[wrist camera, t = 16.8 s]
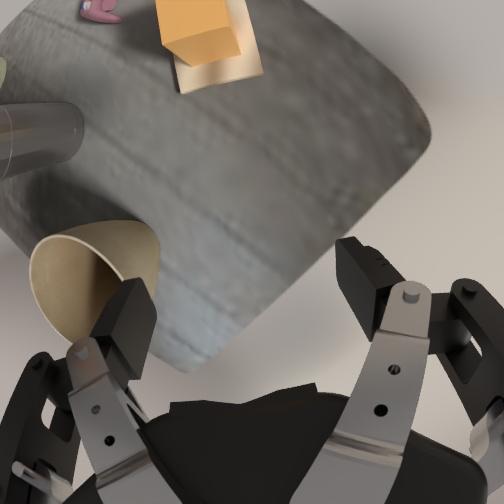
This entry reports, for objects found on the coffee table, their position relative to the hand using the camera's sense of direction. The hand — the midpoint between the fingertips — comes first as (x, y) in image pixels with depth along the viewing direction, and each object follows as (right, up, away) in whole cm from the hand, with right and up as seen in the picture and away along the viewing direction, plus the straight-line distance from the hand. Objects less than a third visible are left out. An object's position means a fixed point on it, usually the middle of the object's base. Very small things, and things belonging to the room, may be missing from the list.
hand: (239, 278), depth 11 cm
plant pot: (-16, +2, +27) cm, 32 cm away
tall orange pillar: (-4, +26, +14) cm, 30 cm away
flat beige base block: (-4, +27, +15) cm, 31 cm away
